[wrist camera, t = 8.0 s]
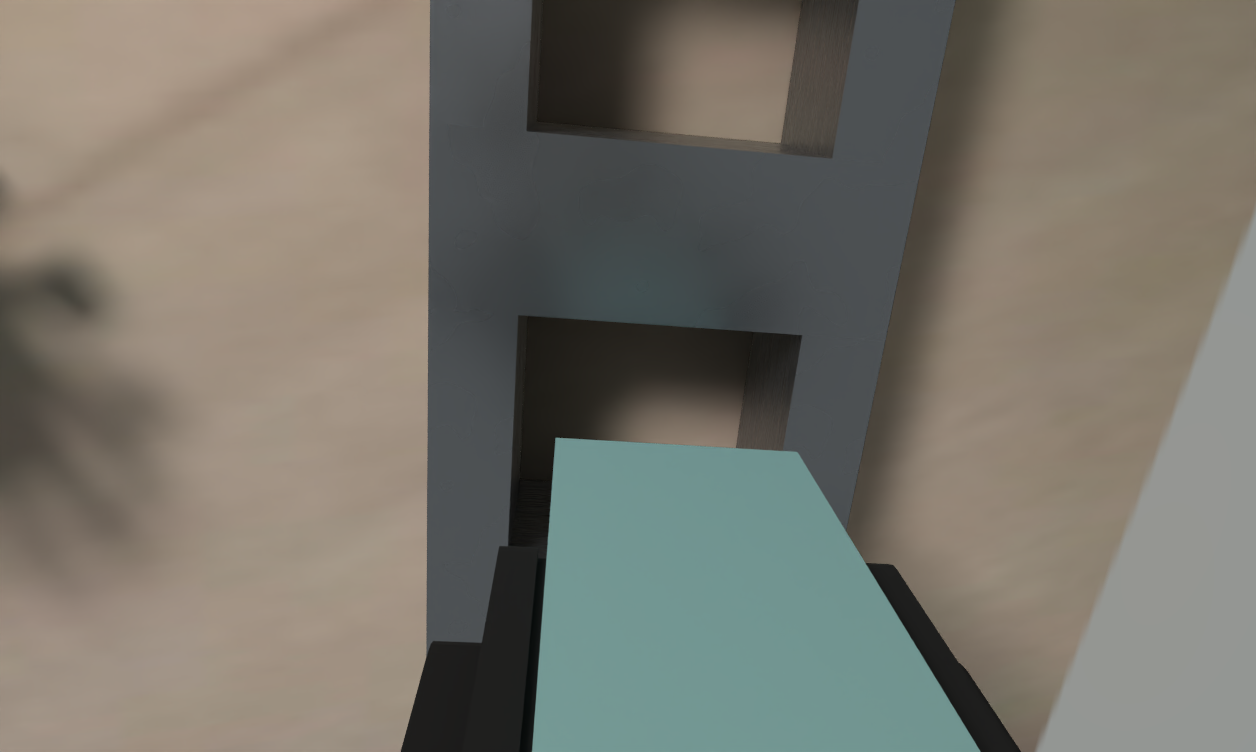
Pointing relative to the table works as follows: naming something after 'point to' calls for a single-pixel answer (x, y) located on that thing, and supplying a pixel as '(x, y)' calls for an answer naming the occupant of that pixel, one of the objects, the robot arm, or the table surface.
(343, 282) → the table surface
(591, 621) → the peg
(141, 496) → the table surface
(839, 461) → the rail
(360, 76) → the table surface
